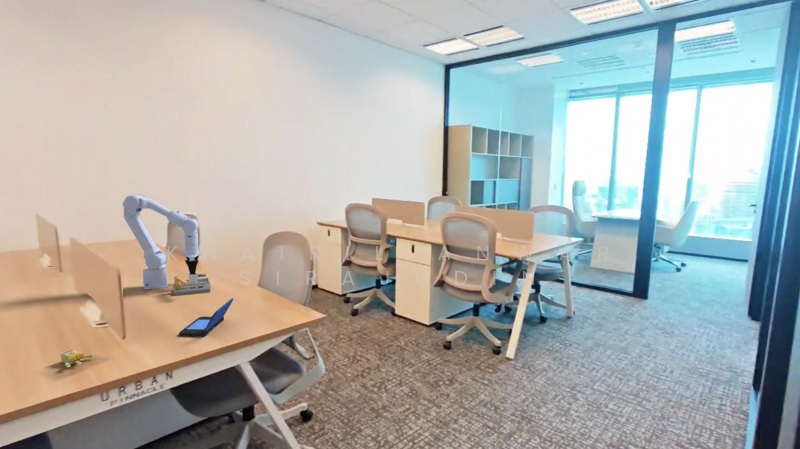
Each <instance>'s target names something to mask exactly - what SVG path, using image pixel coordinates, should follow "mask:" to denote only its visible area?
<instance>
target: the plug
mask: <svg viewBox="0 0 800 449" xmlns="http://www.w3.org/2000/svg"><path fill="white" fill-rule="evenodd" d="M206 277H207V274H206V273H198V270H196V273H195V274H194V275H190V272H189V271H188V280H189V283H191V282H192V283H195V282H198V279H199V278H206Z"/></svg>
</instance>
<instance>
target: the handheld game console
mask: <svg viewBox="0 0 800 449" xmlns="http://www.w3.org/2000/svg"><path fill="white" fill-rule="evenodd" d="M233 302H234V298H231V299H229V300H228V301H227V302H226V303H224V304H223V305H222V306H221V307H220V308H219V309H217V310H216V311H215V312H214V313H213V314H212V316H200V317H198V318H196V319H195V320H194V321H192V322H191V323H190V324H188V325H187V326H185V327H184V328H183V329H182V330H181V331H179V332H178V335H179V336H180V337H191V338H193V337H196V338H197V337H200V338H201V337H203V338H204V337H206V336H208V335H209V334H210V333H211V332H213V329H214V328H216V327H217V326H219V325H220V324H221V323H222V322H223V321H224V320H225V314H226V313H227V311H228V310H229V308H230V307H231V305H232V303H233Z"/></svg>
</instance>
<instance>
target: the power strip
mask: <svg viewBox="0 0 800 449" xmlns="http://www.w3.org/2000/svg"><path fill="white" fill-rule="evenodd" d="M206 293H211V283H210V284H200V285H190V286H181V289H180V290H175V288H174V290H173V296H174V297H176V296H177V297H178V296H184V295H185V296H187V295H195V294H206Z"/></svg>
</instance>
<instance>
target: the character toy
mask: <svg viewBox="0 0 800 449" xmlns="http://www.w3.org/2000/svg"><path fill="white" fill-rule="evenodd" d="M95 357H96V354H95V353H87V354H85V353H84V352H82V353H80V351H77V350H74V349H68V350H66V351H64V352H61V353H60V359H61V363H62V364H64V366H65V367H66V368H71V366H72V365H73V364H78V365H81V364H82V362H80V361H81V360H82V359H86V358H95Z"/></svg>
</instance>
